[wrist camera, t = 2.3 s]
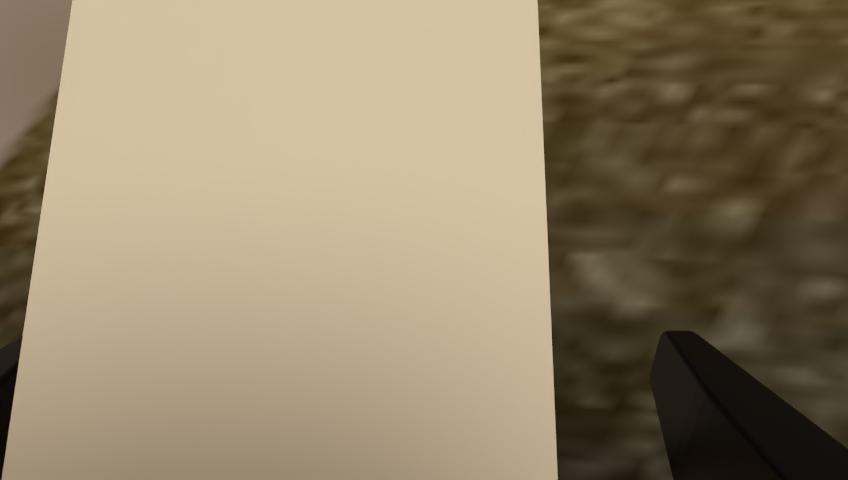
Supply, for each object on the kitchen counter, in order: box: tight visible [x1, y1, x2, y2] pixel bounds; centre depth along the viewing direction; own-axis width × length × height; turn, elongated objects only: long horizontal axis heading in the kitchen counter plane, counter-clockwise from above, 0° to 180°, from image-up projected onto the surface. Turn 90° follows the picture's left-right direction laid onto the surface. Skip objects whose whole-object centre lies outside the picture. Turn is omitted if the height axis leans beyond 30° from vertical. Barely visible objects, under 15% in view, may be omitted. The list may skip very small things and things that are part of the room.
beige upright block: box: [1, 0, 558, 480], centre depth 11 cm, size 5×4×13 cm
